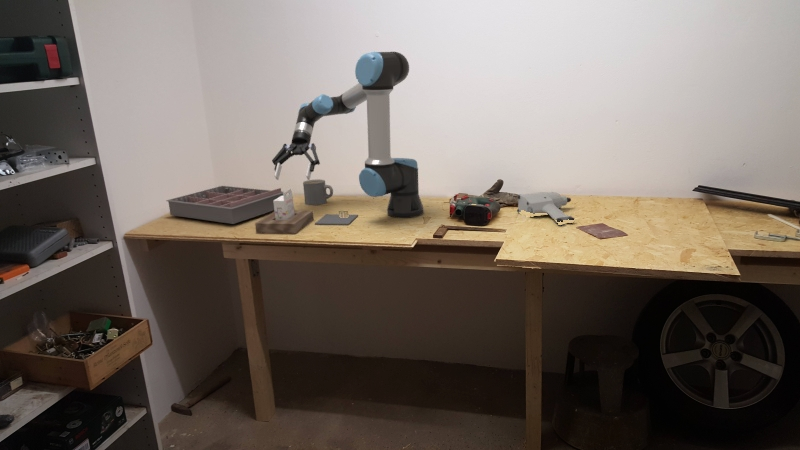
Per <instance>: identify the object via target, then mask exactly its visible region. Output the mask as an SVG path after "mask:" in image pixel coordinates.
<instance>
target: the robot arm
mask: <svg viewBox="0 0 800 450" xmlns="http://www.w3.org/2000/svg"><path fill="white" fill-rule="evenodd" d="M354 72H355V73H354V74H355V78H356V80H357V84H355V85H354V86H353V87H351V88H349V89H348V90H346V91H345V92H344V93H341V94H340V95H338V96H332V97H330V96H329V95H326V94H320V95H318V96H316V97H315V98H314V99H313V100H312V101H311V102H305V103H303V104H301V105H300V108H299V110H298V113H297V118H296V122H295V126H294V130H293V135H292V138H291V142H290V145H288V144H287V143H284V144H283V145H282V148H280V150H279V151H278V152H277V154H276V155H275V156H274V157H273V158H272V160H271V162H272V163H273V165H274V169H273V170H274V172H275V173H274V178H275V179H276V180H277V181H279V178H280V175H281V172H282V167H283V166H282V165H283V164H284V163H286V161H288V160H289V159H290V158H292V157H294V156H303V155H304V156H305V157H306V158H307V160H308V161H309V162H308V166H307V169H306V174H305V176H306V179H307V180H311V175H312V173H313V172H314V171H315V167H316V165H318V166H320V165H321V163H320V160H319V156H318V153H317V147H316V144H315V143H314V142H313V143H311V139H312V134H313V130H314V127H315V123H316V122H317V121H320V119H322V118H323V117H327V116H335V115H344V114H346V115H347V114H350V113H351V114H352V113H354V111H355V109H356V108H357V107H358V106H359V105H361V104H362V103H364V102H366V116H367V122H366V123H367V151H368V157H367V158H366V159H365V160H364V168H363V169H362V170H361V171H360V173H359V175H358V181H359V185H360V187H361V189H362V191H363V192H364V193H365V194H366V195H367V196H369V197H371V198H377V197H383V196H385V195H389V194H390V197H389V201H388V204H387V209H386V211H387V216H389V217H391V218H401V219H403V218H407V219H408V218H415V217H419V216H422V215H423V214H424V213H425V212H424V206H423V203H422V199H421V197H420V194H419V191H420V190H419V189H420V188H419V167H418V165H419V164H418V162H417V160H416V159H414V158H407V157H392V156H391V111H390V110H391V109H390V104H391V103H390V102H391V101H390V94H391V93H392V92H393V91H394V87H395V86H398V84H400V83H403V81H405V79H406V78H407V77H408V76H409V72H410V64H409V60H408V59H407V58H406V56H405V55H404V54H402V53H401V52H397V51H372V52H366V53H363V54H362V55H361V56H360V57H359V59H358V60H357V62H356V64H355V70H354ZM309 149H310V150H311V151H312V155H313V158H312V157H311V155H310V153H308V151H309Z"/></svg>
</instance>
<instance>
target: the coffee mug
mask: <svg viewBox="0 0 800 450" xmlns="http://www.w3.org/2000/svg"><path fill="white" fill-rule="evenodd" d="M302 185H303V197H304V204H305V205H306V206H321V205H325V204H327V200H328V199H330V198H331V197H332V196H333V195H334V194H333V193H334V189H333V187H332V185H329V184H326V180H325V179H321V178H320V179H318V178H317V179H310V180H308V179H307V180H304V181H303V183H302ZM327 189H328V190H329V194H328V193H327Z"/></svg>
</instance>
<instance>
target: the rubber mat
mask: <svg viewBox="0 0 800 450" xmlns="http://www.w3.org/2000/svg"><path fill="white" fill-rule="evenodd" d="M339 214H340V213H338V214H337V213H336V214H334V213H333V214H330V213H329V214H328V213H327V214H325V215H324V216H322V217H321V218H319V220H317V221H316V222H314V225H315V226H349V225H351V224H352V223H353V222H354V221H355V220H356V219H357V218H358V217H359V214H348V215H349V217H348V218H340V217H339Z"/></svg>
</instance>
